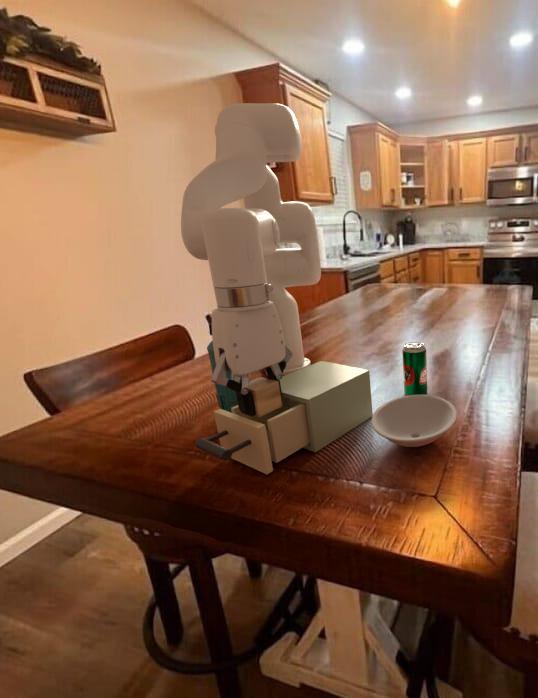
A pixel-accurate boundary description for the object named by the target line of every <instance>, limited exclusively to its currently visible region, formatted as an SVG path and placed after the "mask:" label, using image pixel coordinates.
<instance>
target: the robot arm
mask: <svg viewBox="0 0 538 698" xmlns="http://www.w3.org/2000/svg"><path fill="white" fill-rule="evenodd" d="M214 135H215V160H213V161H212V162H211V163H209V164H208V165H207V166H205V167H204V168H203V169H202V170H201V171H200V172H199V173H198V174H197V175H195V176H194V177H193V178H192V179H191V180H190V181H189V183H188V184H187V186H186V188H185V190H184V192H183V196H182V203H181V204H182V205H181V214H180V216H181V217H180V233H181V239H182V243H183V245H184V247H185V249H186V251H187V252H188V253H189V254H190V255H191V256H192V257H194V258H196V259H197V260H201V261H208V265H209V270H210V276H211V282H212V286H213V291H214V296H215V301H216V306H217V307H216V308H215V309H212V311H211V323H212V335H211V336H212V337H211V338H212V339H211V340H213V349H214V356H215V362H216V368H215V370H214V373H212V375H211V377H210V381H211V382H212V383H214V384H215V383H217V384H220V385H223V386H225V387H227V388H229V389H231V390H232V391H234V392H236V397H237V402H238V407H239V410H240V411H241V413H243V414H246V415H249V416H251V417H253V416H255V415H256V410H255V404H254V399H253V394H252V392H249V381H250V375H251V374H252V373H255V372H257V371H260V370H263V372H264V373H265V376H266V378H267V379H271V380H275V381H278V382H279V388H280V395H281V401H282V391H281V385H280V380H281V379H282V377H283V376H285V375H287V374H290V373H292V372H295V371H297V370H300V369H302V368H305V367H307V366H310V365H312V364H311V363H312V362H311V360H310V359H309V358H307V357H305V353H304V346H303V338H302V331H301V323H300V315H299V306H298V303H297V301H296V299H295V298H294V296H293V295H291V293H290V292H288V290H287V289H286V288H290V287H302V286H303V287H305V286H313V285H316V284H318V283H319V282H320V280H321V278H322V266H321V257H320V249H319V240H318V239H319V238H318V232H317V224H316V218H315V214H314V212H313V208H312V207H311V206H310V205H309V204H308V203H306V202H304V201H285V202H284V201H283V199H282V197H281V191H280V190H281V189H280V183H279V179H278V177H277V176H276V174H275V173H274V172H273V171H272V169H271V168H270V167H269V166H268V165H267V164H268V163H291V162H296V161H298V160H299V159H300V157H301V155H302V150H303V141H302V134H301V130H300V126H299V123H298V120H297V117H296V115H295V113H294V112H293V111H292V109H290V108H289V107H288V106H286V105H284V104H281V103H258V102H257V103H256V102H255V103H253V102H252V103H246V102H243V103H241V102H238V103H232V104H228V105H225V107H222V109H221V110H220V111H219V113H218V115H217V119H216V124H215V126H214ZM242 199H243V203H244V204H243V205H244V207H225V206H227V205H229V204H232V203H234V202H238V201H240V200H242ZM280 244H296V245H297V244H298V246H299V247H293V248H278V246H280ZM229 371H232V375H231V379H229V378H227V377H226V373H227V372H229ZM240 377H241V378H240ZM282 402H283V401H282Z"/></svg>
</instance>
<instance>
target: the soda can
mask: <svg viewBox="0 0 538 698" xmlns="http://www.w3.org/2000/svg"><path fill="white" fill-rule="evenodd" d="M401 351H402V370H403V393H404V394H403V395H404V396H409V395H428V363H427V361H428V360H427V348H426V346H425V343H423V342H419V341H411V342H406V343H404V344H403V348H402V350H401Z"/></svg>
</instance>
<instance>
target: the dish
mask: <svg viewBox="0 0 538 698" xmlns="http://www.w3.org/2000/svg"><path fill="white" fill-rule="evenodd" d="M372 414H373V416H372V417H371V425H372V426H371V427H372V428H373V430H374V431H375V433H377V434H378V435H379V436H381V437H382V438H385V439H386V440H387V441H390V442H391V443H393V444H395V445H398V446H400V447H405V448H417V447H423V446H426V445H429V444H431V443H433V442H435V441H437V440H438V439H439V438H441V437H442V436H443V435H444V434H445V433H446V432H448V431H449V430H450V429H451V428H453V426H454V425H455V424H456V421H457V418H458V411H457V409H456V407H455V405H454V404H452V402H451V401H449V400H447V399H445V398H443V397H440V396H436V395H431V394H427V395H409V396H405V395H404V396H400V397H397V398H394V399H391V400H389V401H387V402H384V403H383V404H382V405H380V406H379V407H378V408H377V409H376V410H375V411H374V413H372Z"/></svg>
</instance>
